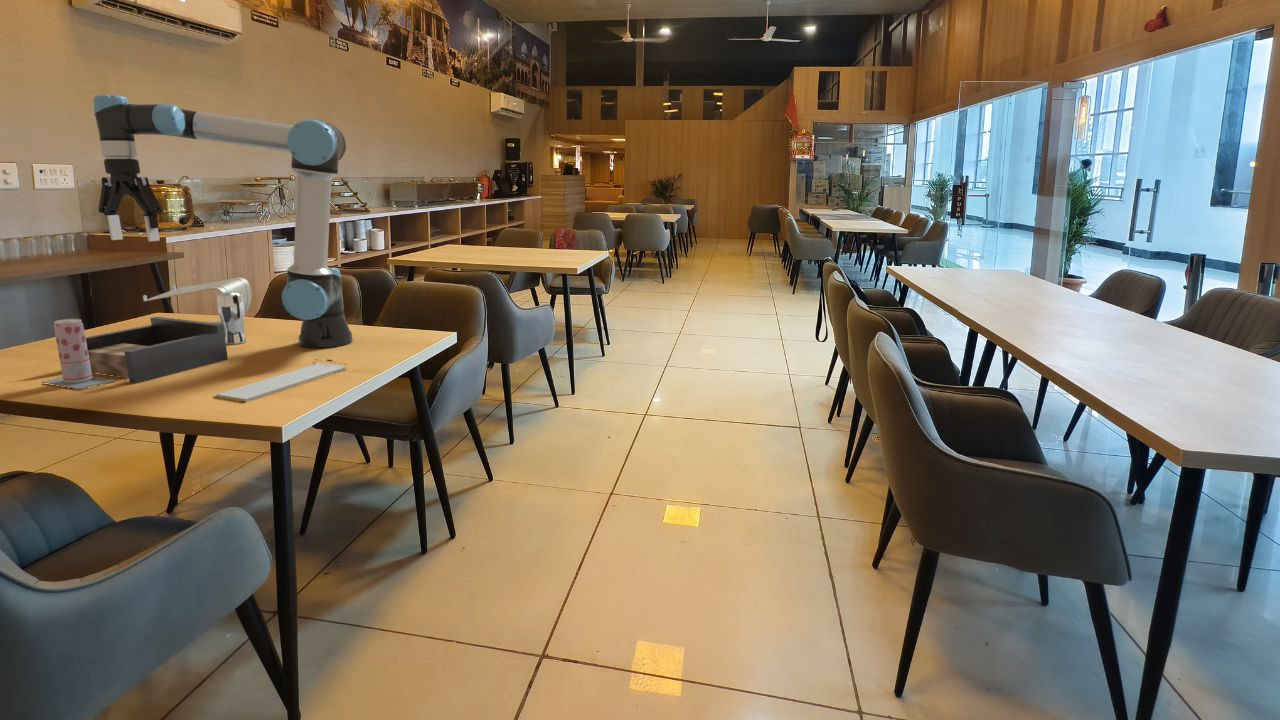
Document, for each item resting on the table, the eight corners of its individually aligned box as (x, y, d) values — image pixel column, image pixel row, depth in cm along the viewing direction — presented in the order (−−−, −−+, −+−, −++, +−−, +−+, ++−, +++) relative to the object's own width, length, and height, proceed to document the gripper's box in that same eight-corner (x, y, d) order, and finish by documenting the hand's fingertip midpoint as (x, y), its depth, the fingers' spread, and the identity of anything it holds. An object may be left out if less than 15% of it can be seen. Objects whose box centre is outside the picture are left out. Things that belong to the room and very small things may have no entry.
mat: (114, 381, 180) (114, 380, 179) (80, 390, 172) (79, 388, 172) (77, 375, 184) (76, 373, 184) (42, 383, 177) (41, 381, 177)
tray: (227, 359, 202) (223, 324, 199) (135, 383, 178) (128, 344, 176) (162, 350, 211) (157, 316, 208) (65, 372, 187) (58, 334, 185)
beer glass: (252, 341, 223) (247, 293, 219) (230, 346, 217) (224, 296, 214) (240, 338, 227) (234, 291, 223) (217, 342, 221) (211, 294, 217)
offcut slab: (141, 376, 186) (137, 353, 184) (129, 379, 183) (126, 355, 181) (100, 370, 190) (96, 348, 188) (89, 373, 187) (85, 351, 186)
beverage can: (68, 385, 174) (56, 324, 171) (60, 381, 178) (49, 321, 174) (96, 380, 179) (85, 320, 175) (88, 376, 182) (77, 317, 178)
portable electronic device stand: (229, 337, 229) (223, 288, 225) (146, 339, 225) (138, 289, 221) (255, 321, 253) (250, 276, 249) (181, 322, 249) (175, 277, 245)
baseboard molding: (208, 398, 170) (246, 405, 165) (207, 386, 169) (245, 393, 165) (312, 367, 198) (346, 372, 193) (311, 356, 197) (345, 361, 193)
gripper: (169, 158, 189) (182, 240, 195) (101, 159, 197) (115, 237, 202) (142, 157, 182) (156, 242, 188) (72, 158, 190) (88, 240, 196)
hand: (135, 240), depth 195 cm, fingers open, 13 cm apart
